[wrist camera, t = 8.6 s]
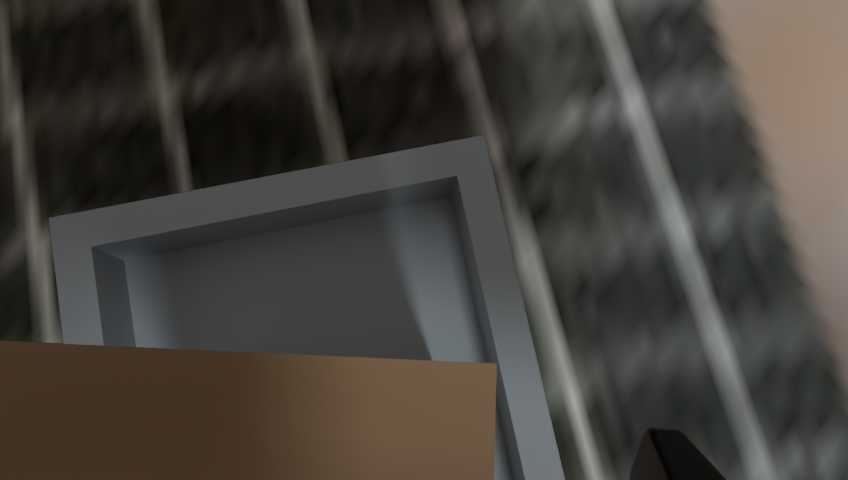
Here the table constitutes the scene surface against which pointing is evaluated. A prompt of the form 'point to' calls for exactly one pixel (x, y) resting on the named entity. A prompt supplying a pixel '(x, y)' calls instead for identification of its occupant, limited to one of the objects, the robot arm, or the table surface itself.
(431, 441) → the block
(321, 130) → the table surface
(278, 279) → the tray
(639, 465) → the robot arm
